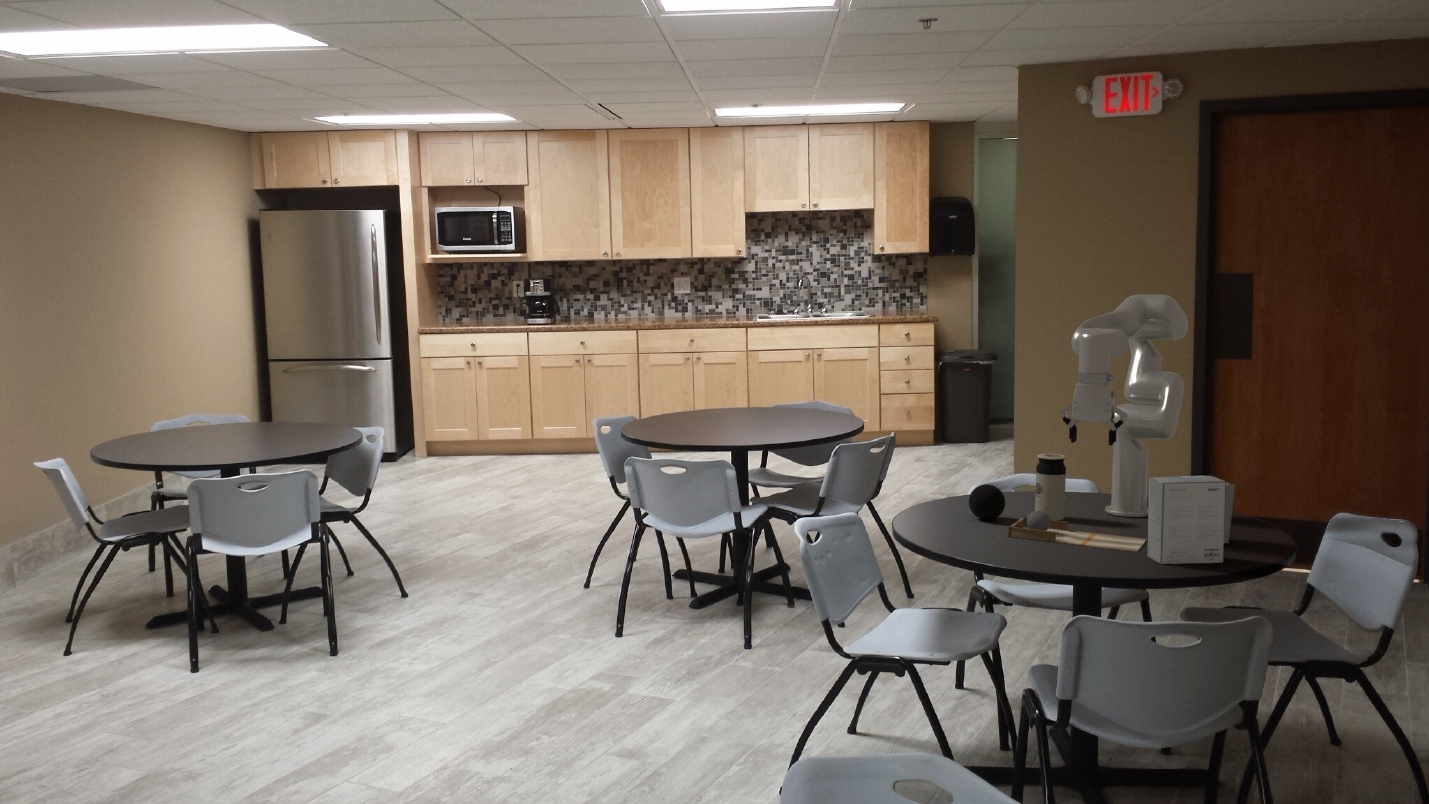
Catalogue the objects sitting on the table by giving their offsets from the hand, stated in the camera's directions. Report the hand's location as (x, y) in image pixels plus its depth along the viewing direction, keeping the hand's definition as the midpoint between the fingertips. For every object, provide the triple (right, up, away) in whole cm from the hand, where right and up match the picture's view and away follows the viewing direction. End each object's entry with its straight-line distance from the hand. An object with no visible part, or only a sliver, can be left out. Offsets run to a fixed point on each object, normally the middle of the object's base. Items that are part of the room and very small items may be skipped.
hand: (1092, 443), depth 283 cm
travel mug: (-5, -22, +20) cm, 31 cm away
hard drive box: (+14, -27, -24) cm, 39 cm away
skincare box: (+28, -25, -6) cm, 38 cm away
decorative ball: (-23, -23, +20) cm, 38 cm away
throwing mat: (-5, -25, -3) cm, 25 cm away
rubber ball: (-14, -21, +2) cm, 25 cm away
